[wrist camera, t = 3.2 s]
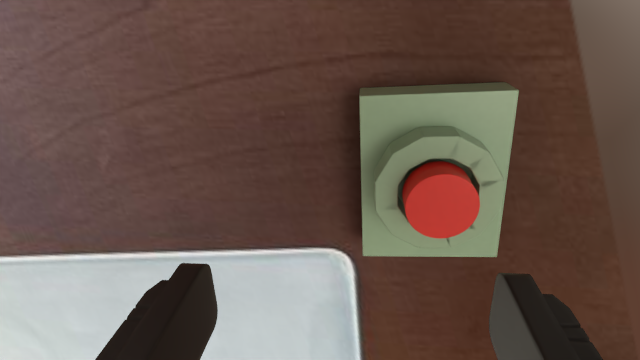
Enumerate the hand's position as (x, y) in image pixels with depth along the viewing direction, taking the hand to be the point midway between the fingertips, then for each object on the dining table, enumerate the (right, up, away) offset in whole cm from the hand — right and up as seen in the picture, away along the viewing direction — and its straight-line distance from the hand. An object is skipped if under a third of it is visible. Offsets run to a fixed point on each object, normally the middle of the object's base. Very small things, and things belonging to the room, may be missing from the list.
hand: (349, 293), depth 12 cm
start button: (+5, +3, +10) cm, 12 cm away
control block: (+6, +4, +13) cm, 15 cm away
